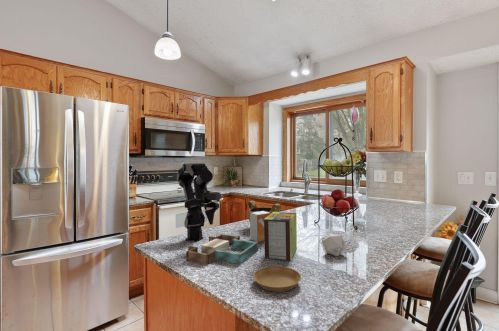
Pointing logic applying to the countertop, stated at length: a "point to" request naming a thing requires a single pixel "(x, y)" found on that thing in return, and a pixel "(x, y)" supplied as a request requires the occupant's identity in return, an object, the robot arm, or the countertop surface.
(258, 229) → the small box
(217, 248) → the cream block
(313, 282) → the countertop surface
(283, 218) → the protein box
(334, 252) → the white faceted lump
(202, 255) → the box
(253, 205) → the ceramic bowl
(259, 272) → the plant saucer
